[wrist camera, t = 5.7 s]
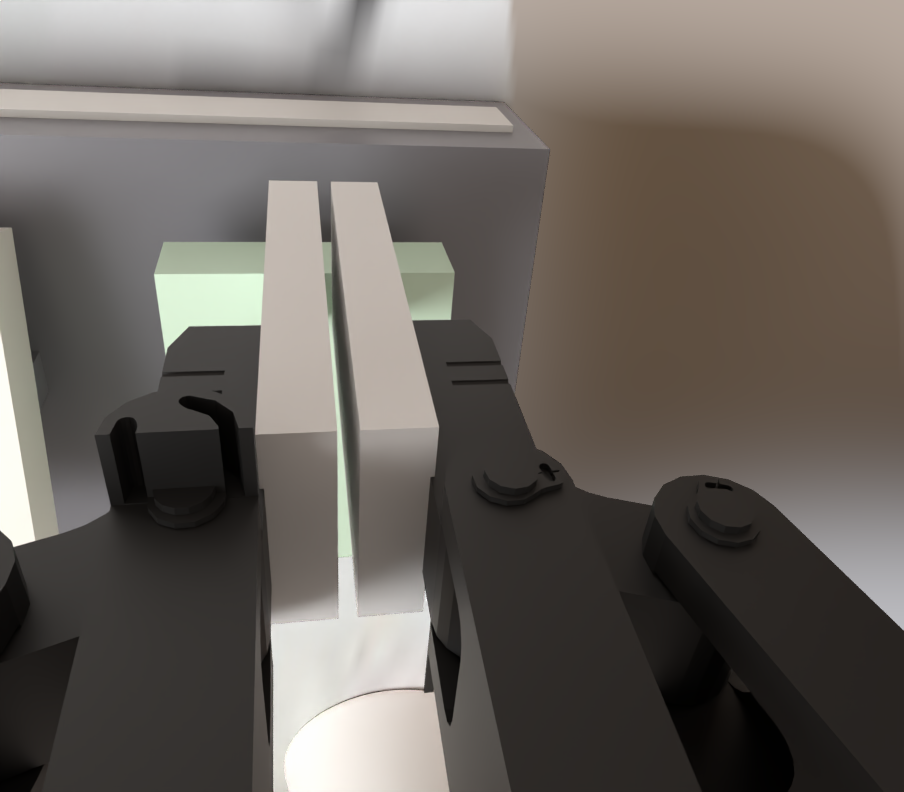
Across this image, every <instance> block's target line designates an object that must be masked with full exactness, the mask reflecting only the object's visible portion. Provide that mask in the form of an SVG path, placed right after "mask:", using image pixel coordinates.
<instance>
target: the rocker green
mask: <svg viewBox="0 0 904 792" xmlns="http://www.w3.org/2000/svg"><path fill="white" fill-rule="evenodd" d="M265 244H266V242H164V243H163V246H162V249H161V253H160V256H159V259H158V263H157V266H156V269H155V273H154V278H155V285H156V292H157V299H158V306H159V313H160V320H161V327H162V334H163V341H164V348H165V355H166V353H167V348H168V347H169V346H170V345H171V344H172V343H173V342H174V341H175V340H176V339H177V338H178V337H179V336H180V335H181V334H182V333H183V332H184V331H185V330H186V329H187V328H188V327H189V326H245V325H261V316H262V298H263V280H264V262H265ZM393 246H394V250H395V254H396V258H397V262H398V266H399V270H400V274H401V278H402V282H403V286H404V290H405V294H406V298H407V302H408V306H409V310H410V314H411V318H412V320H451V310H452V299H453V287H454V276H455V272H454V270H453V267H452V265H451V263H450V260H449V258H448V256H447V254H446V251H445V249H444V247H443V244H442V242H393ZM322 249H323V261H324V273H325V286H326V298H327V310H328V323H329V335H330V347H331V359H332V372H333V384H334V396H335V408H336V421H337V458H338V557H351V556H352V548H351V536H350V525H349V514H348V502H347V491H346V480H345V468H344V457H343V445H342V434H341V423H340V411H339V400H338V389H337V377H336V366H335V355H334V343H333V332H332V269H331V242H322Z"/></svg>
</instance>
